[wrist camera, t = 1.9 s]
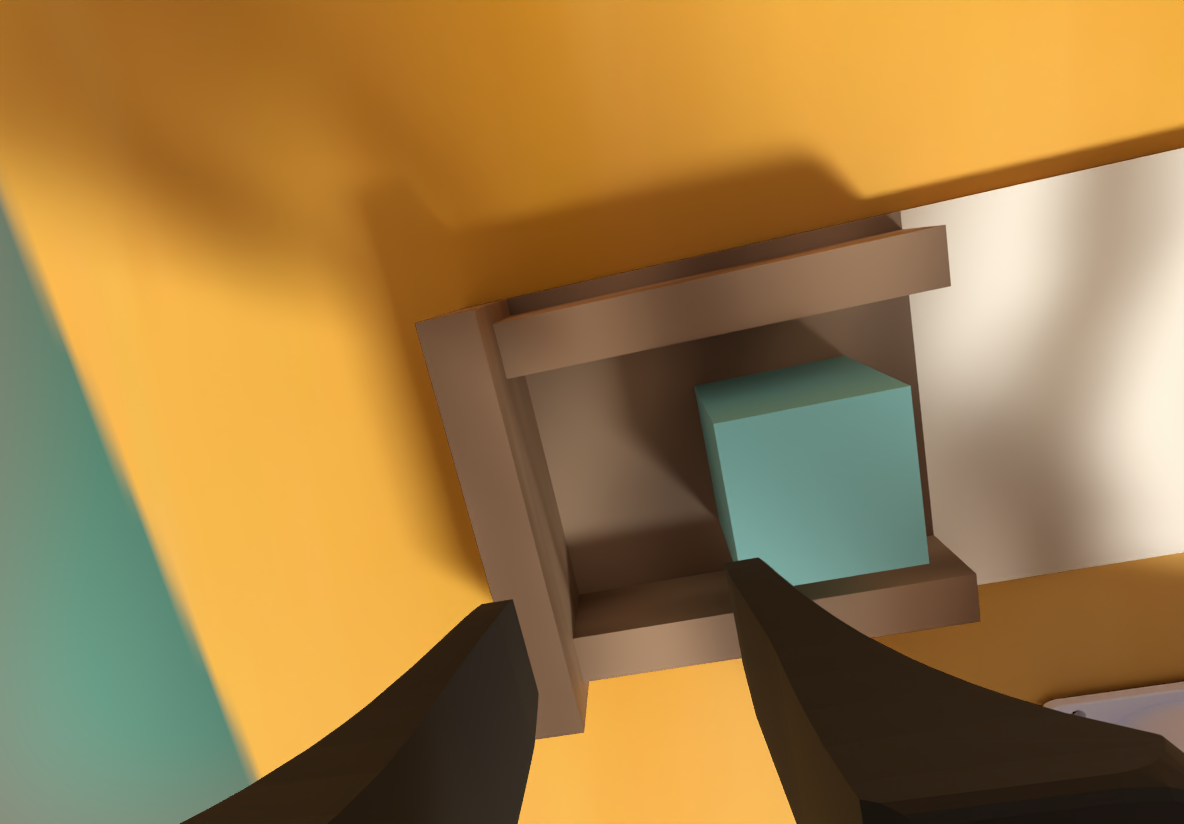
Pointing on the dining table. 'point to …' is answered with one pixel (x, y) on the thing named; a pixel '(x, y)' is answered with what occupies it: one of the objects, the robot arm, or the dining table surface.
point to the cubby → (808, 334)
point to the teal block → (816, 469)
